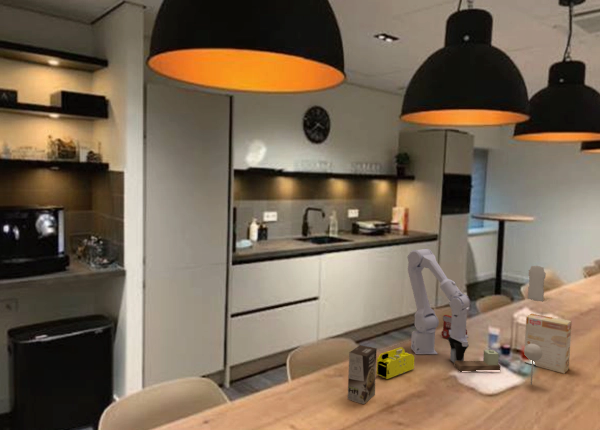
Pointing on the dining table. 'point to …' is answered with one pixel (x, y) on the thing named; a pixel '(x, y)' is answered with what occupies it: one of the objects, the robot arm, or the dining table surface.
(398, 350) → the yellow toy machine
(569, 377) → the dining table surface
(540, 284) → the dispenser
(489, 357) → the sage block
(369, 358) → the coffee box
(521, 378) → the dining table surface
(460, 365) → the walnut base brick
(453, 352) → the slate block
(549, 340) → the coffeecake box
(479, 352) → the dining table surface
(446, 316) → the toy fire truck
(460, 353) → the robot arm
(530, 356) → the lollipop
